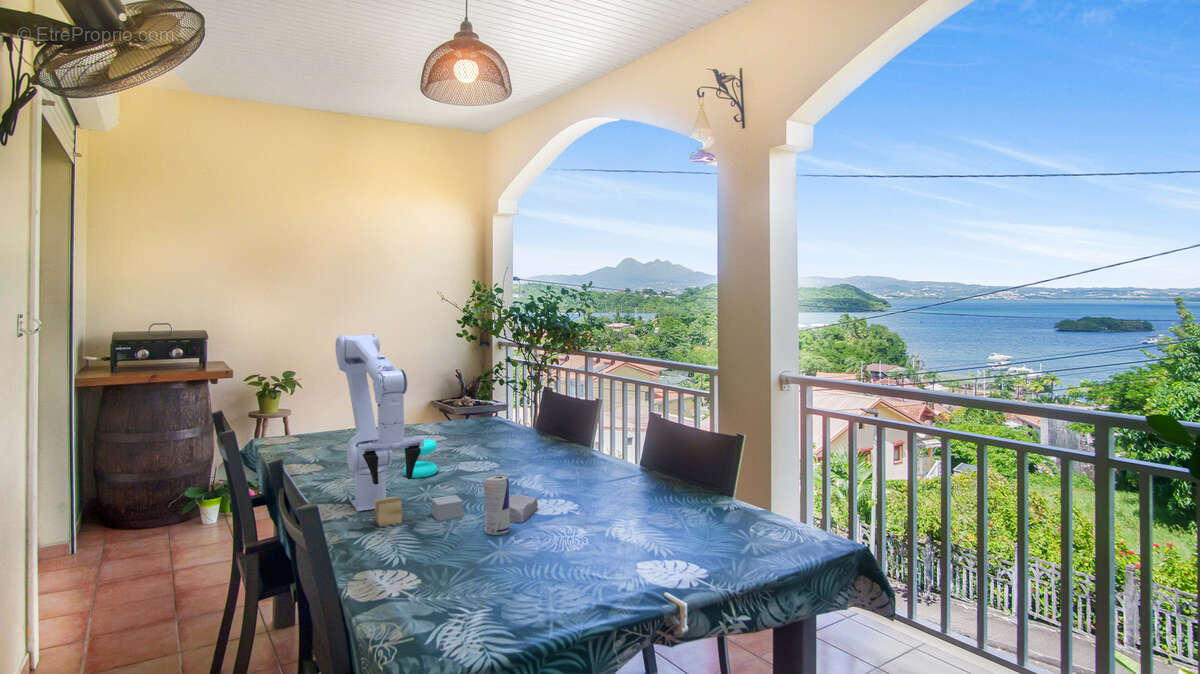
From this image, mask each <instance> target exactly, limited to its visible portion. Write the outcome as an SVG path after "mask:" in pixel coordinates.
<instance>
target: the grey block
mask: <svg viewBox="0 0 1200 674" xmlns="http://www.w3.org/2000/svg"><path fill="white" fill-rule="evenodd" d="M430 500H431V501H430V503H431V505H430V506H431V507H430V508H431V509H430V510H431V511H430V512H431V516H432V517H434V519H435V520H436V521H438V522H441V521H448V520H454V519H460V518H464V500H462V498H460V497H459V496H458V495H457V494H453V495H447V496H441V497H434V498H430Z"/></svg>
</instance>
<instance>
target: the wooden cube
mask: <svg viewBox="0 0 1200 674" xmlns="http://www.w3.org/2000/svg"><path fill="white" fill-rule="evenodd" d="M402 503H403V502H402V500H401V499H400V498H399V497H398V496H397V495H396V496H390V497H386V498H383V499H376V500H375V509H374V520H376V521H377V522H376V521H375V522H376V524H377V523H378V524H379V525H378V524H377V525H378V526H379V527H382V526H381V525H386V526H389V525H388V524H392V525H396V524H395V523H398V524H402V523H403V510H402V508H403V506H402Z"/></svg>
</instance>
